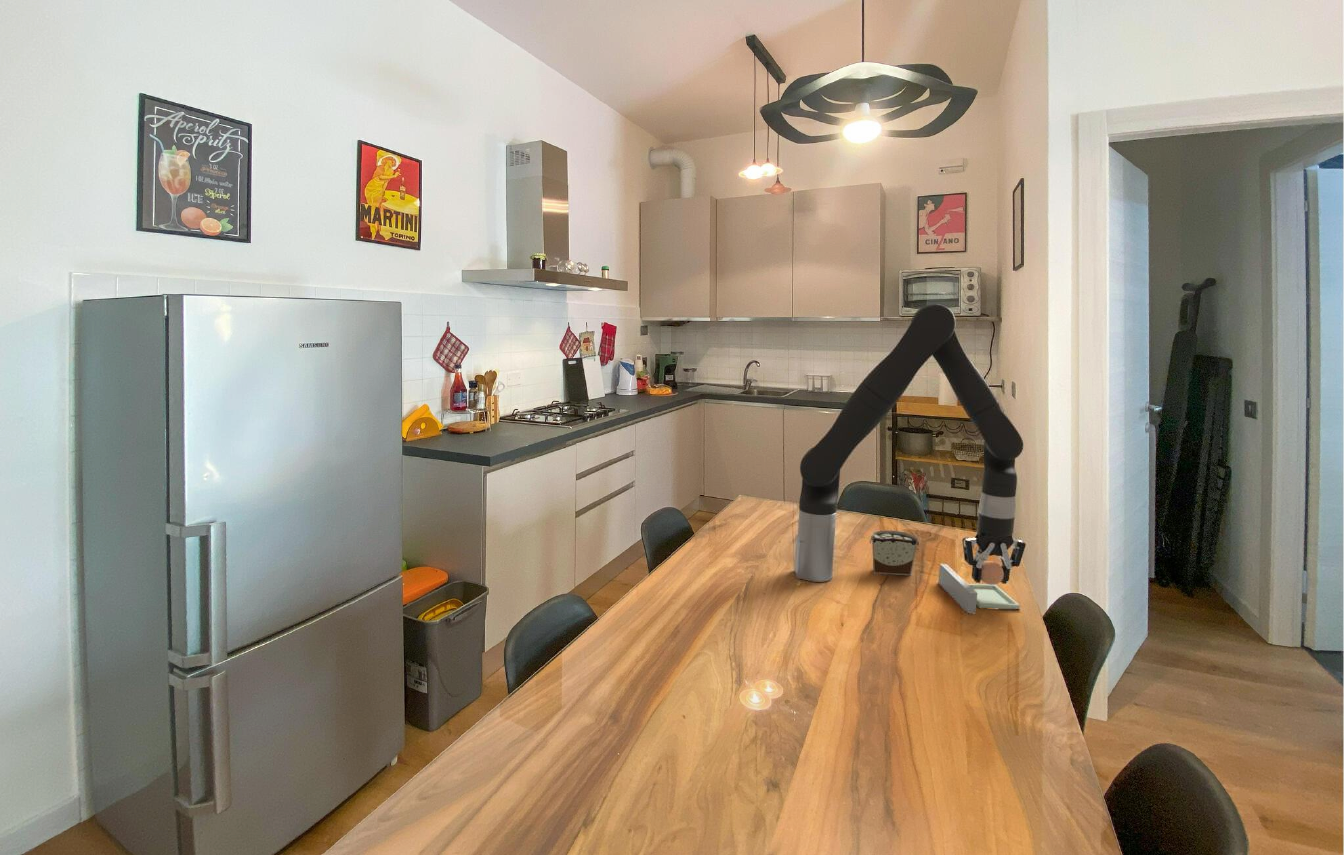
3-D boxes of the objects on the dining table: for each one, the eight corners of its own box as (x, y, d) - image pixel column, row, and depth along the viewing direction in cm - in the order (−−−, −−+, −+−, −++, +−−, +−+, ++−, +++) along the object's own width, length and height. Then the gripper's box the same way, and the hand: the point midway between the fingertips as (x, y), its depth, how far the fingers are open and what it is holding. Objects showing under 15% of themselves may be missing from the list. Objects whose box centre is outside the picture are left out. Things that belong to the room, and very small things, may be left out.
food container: (910, 567, 174) (913, 531, 173) (916, 575, 168) (920, 538, 167) (863, 564, 176) (866, 528, 174) (867, 572, 170) (870, 535, 168)
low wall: (968, 613, 146) (970, 592, 145) (938, 582, 164) (939, 563, 163) (975, 614, 146) (977, 592, 145) (944, 582, 164) (946, 563, 163)
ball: (982, 588, 151) (985, 565, 151) (972, 579, 157) (974, 557, 156) (1007, 588, 151) (1009, 566, 150) (996, 579, 157) (998, 557, 156)
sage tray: (979, 608, 149) (979, 603, 149) (958, 588, 161) (958, 583, 161) (1019, 610, 149) (1019, 605, 149) (995, 589, 161) (995, 584, 160)
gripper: (972, 516, 148) (965, 587, 151) (1036, 518, 148) (1028, 589, 150) (958, 507, 155) (952, 575, 158) (1020, 509, 155) (1013, 577, 158)
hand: (989, 581), depth 154 cm, fingers closed on ball, 5 cm apart
